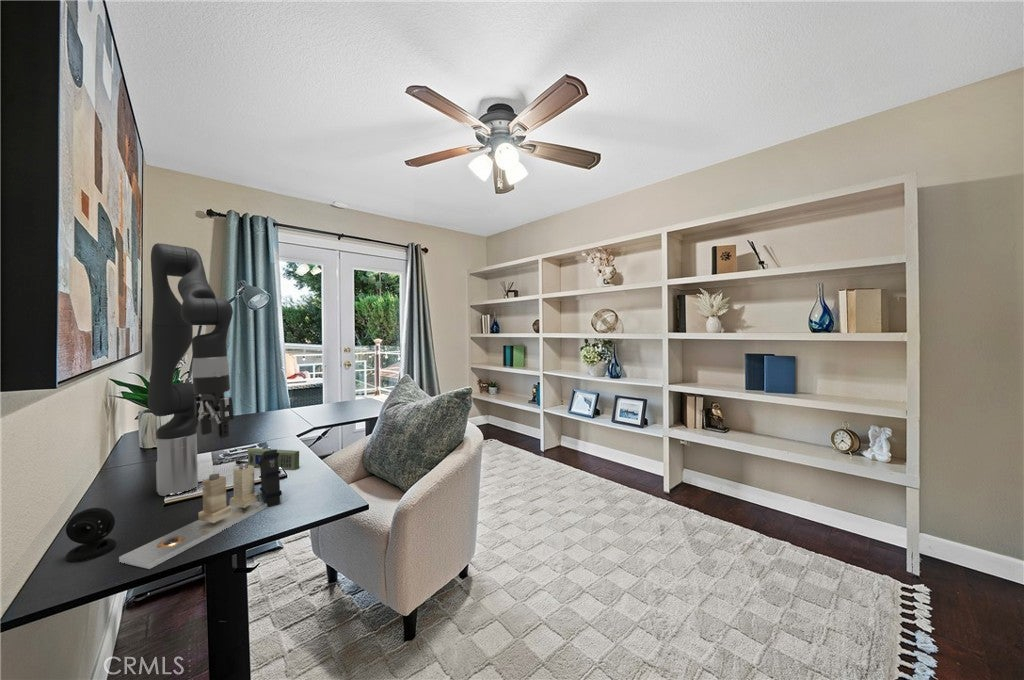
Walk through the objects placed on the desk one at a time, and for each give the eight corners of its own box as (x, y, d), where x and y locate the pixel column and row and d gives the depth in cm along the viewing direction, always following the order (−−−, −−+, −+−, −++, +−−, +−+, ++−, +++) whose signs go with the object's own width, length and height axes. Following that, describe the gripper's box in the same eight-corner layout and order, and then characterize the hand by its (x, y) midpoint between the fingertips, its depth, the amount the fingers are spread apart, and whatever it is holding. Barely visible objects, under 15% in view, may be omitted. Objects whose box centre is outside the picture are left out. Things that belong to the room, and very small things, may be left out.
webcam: (55, 566, 80) (54, 520, 79) (79, 547, 86) (77, 504, 86) (105, 557, 83) (103, 512, 82) (124, 539, 90) (122, 498, 89)
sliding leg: (198, 522, 95) (197, 477, 94) (216, 514, 99) (215, 470, 99) (213, 524, 93) (212, 479, 93) (231, 516, 98) (230, 472, 97)
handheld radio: (294, 471, 133) (232, 467, 137) (300, 468, 136) (240, 464, 140) (294, 452, 133) (232, 448, 137) (300, 450, 136) (240, 446, 140)
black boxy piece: (268, 505, 103) (263, 451, 108) (261, 510, 112) (256, 460, 117) (284, 501, 106) (278, 448, 110) (276, 506, 115) (271, 457, 119)
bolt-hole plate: (119, 562, 81) (117, 502, 81) (242, 503, 108) (241, 458, 108) (149, 569, 79) (147, 508, 78) (267, 507, 106) (266, 461, 105)
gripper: (180, 375, 98) (184, 436, 99) (208, 377, 92) (212, 442, 92) (213, 372, 105) (217, 429, 106) (242, 373, 99) (245, 434, 99)
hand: (214, 435), depth 99 cm, fingers open, 8 cm apart
